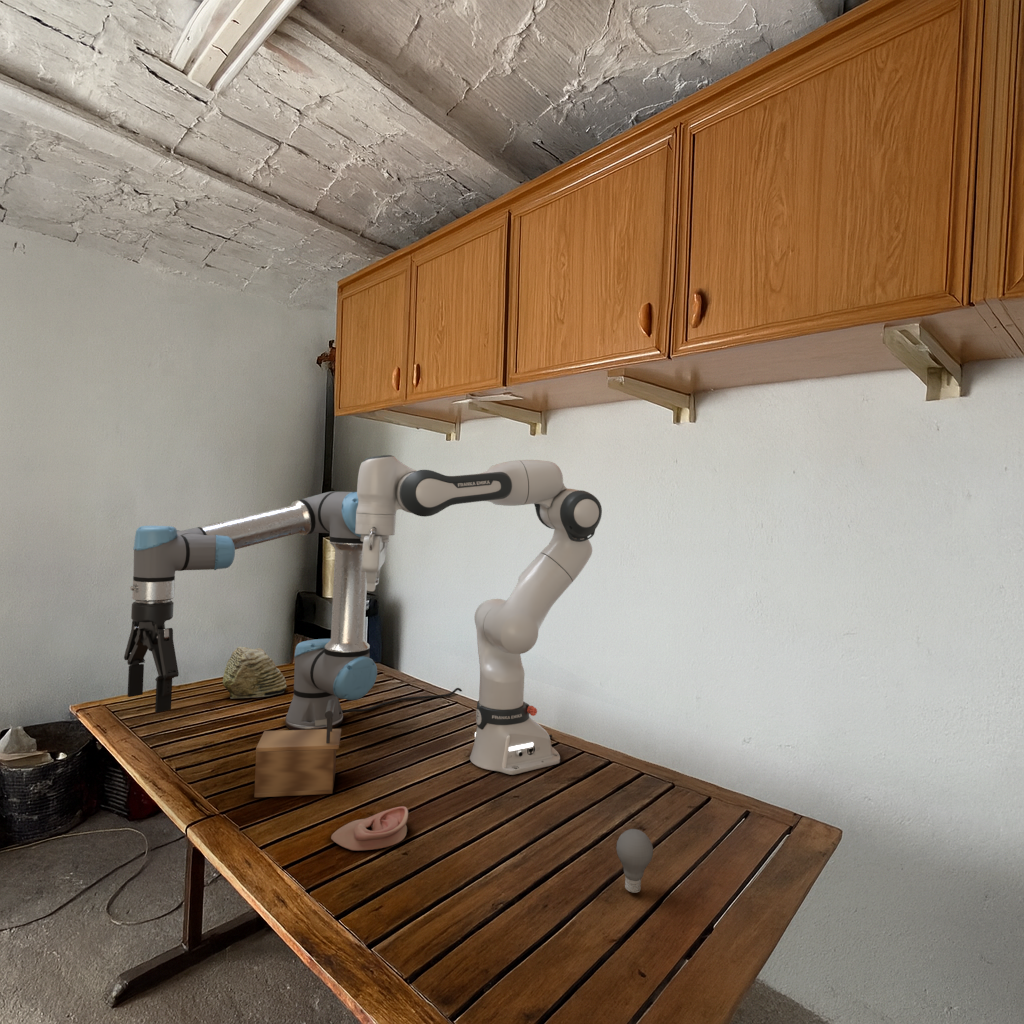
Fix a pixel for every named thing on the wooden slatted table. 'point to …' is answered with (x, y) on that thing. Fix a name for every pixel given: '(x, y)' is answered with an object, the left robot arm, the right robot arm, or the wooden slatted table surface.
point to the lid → (302, 737)
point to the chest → (294, 772)
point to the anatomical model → (374, 830)
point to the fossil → (252, 674)
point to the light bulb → (634, 857)
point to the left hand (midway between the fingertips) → (148, 703)
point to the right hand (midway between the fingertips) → (372, 587)
